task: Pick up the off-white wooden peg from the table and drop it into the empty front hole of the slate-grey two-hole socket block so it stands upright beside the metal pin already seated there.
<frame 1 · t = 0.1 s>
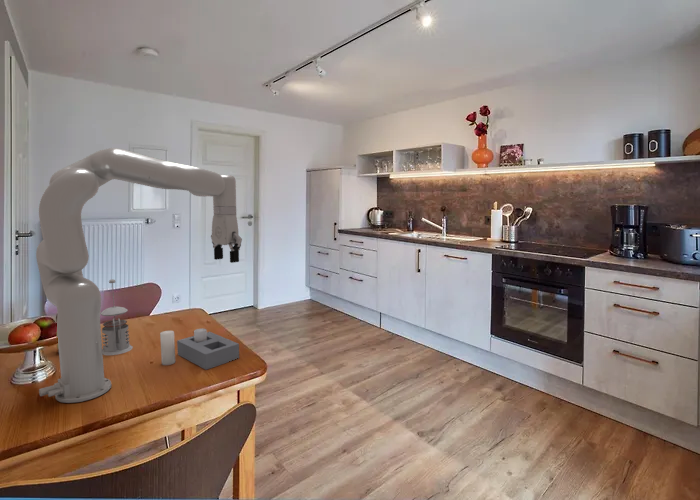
hand: (226, 260, 137), 31 cm above the table, tool pointing down, fingers open, 9 cm apart
french press: (117, 351, 135), on the table
peg: (168, 362, 126), on the table
socket block: (208, 356, 131), on the table
sauce bottle: (69, 352, 134), on the table
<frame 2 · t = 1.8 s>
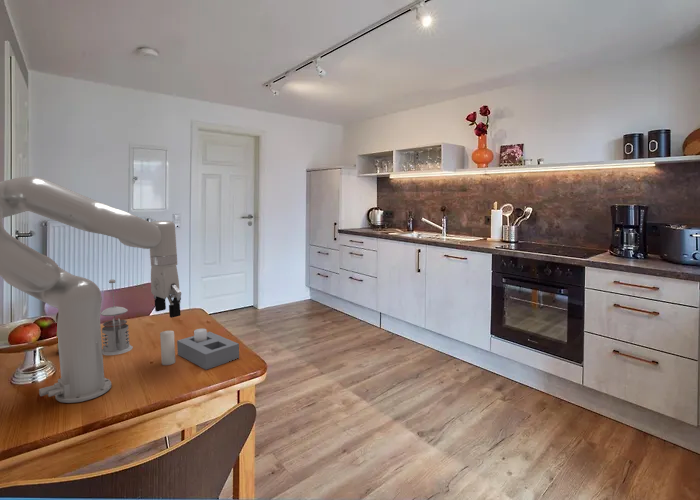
hand: (167, 313, 124), 16 cm above the table, tool pointing down, fingers open, 9 cm apart
nothing on the table moved.
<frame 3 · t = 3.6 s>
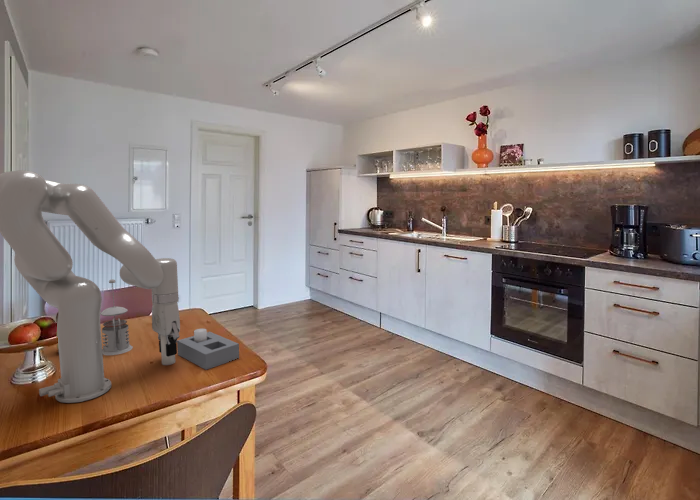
hand: (168, 352, 125), 3 cm above the table, tool pointing down, fingers closed on peg, 4 cm apart
peg: (168, 362, 126), on the table, touching gripper
everything else where it was.
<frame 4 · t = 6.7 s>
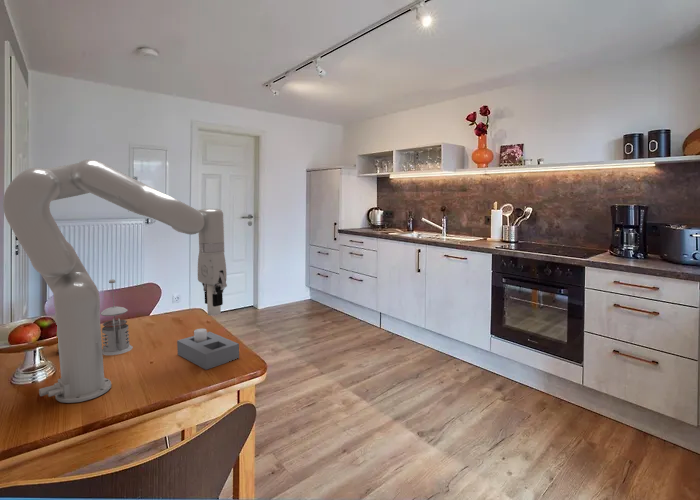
hand: (213, 303, 126), 19 cm above the table, tool pointing down, fingers closed on peg, 4 cm apart
peg: (214, 313, 126), point 16 cm above the table, touching gripper
everything else where it was.
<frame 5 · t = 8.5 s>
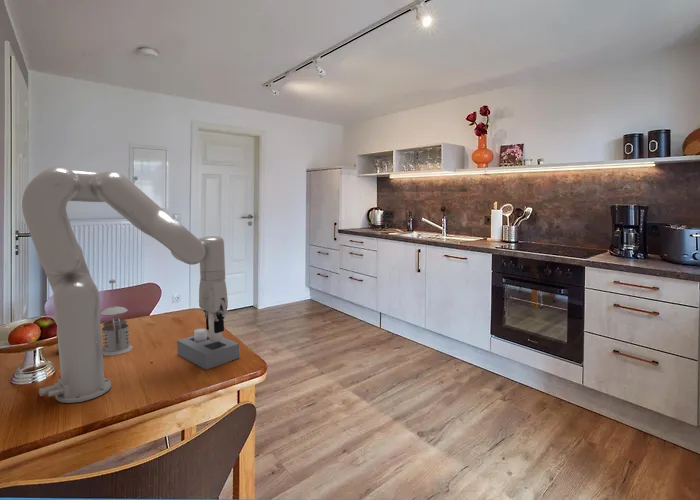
hand: (215, 329, 127), 10 cm above the table, tool pointing down, fingers closed on peg, 4 cm apart
peg: (215, 339, 128), point 7 cm above the table, touching gripper
everything else where it was.
when the fingers open (6 cm above the table, at t = 9.8 s): peg drops 2 cm, resting on socket block.
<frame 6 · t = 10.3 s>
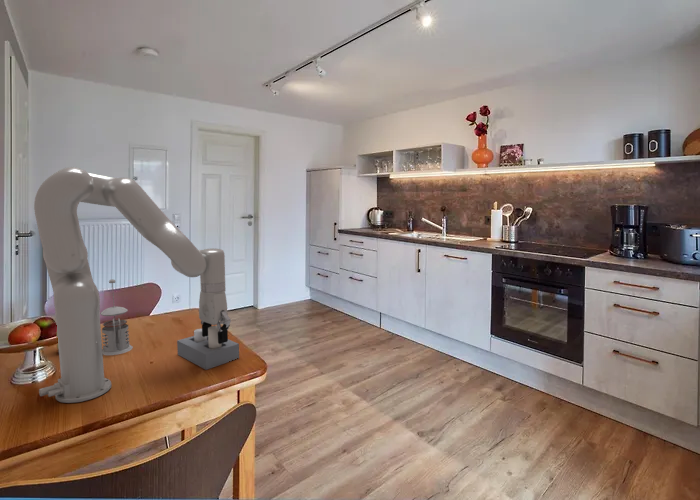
hand: (214, 338, 127), 7 cm above the table, tool pointing down, fingers open, 9 cm apart
peg: (215, 357, 128), point 1 cm above the table, touching socket block
everything else where it was.
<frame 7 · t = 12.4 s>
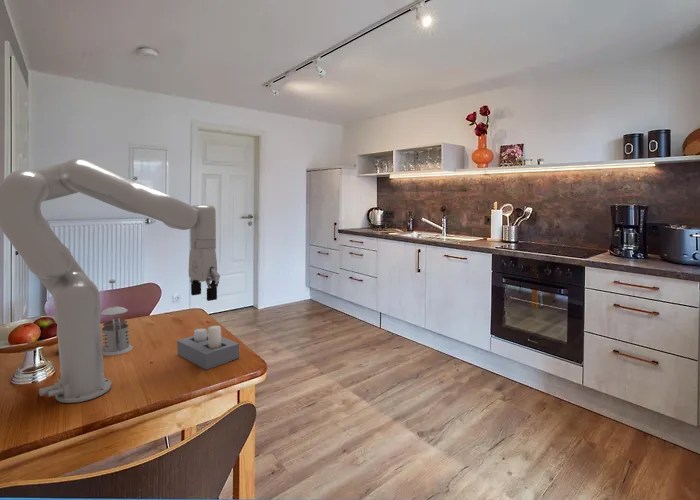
hand: (203, 297, 125), 21 cm above the table, tool pointing down, fingers open, 9 cm apart
nothing on the table moved.
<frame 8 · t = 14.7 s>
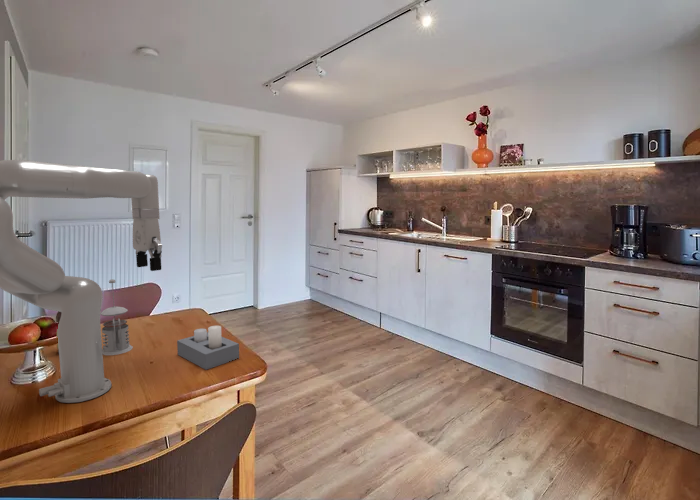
hand: (148, 268, 124), 30 cm above the table, tool pointing down, fingers open, 9 cm apart
nothing on the table moved.
at the end: peg 0.0 cm from the target spot on the socket block, point 1.0 cm above the socket block's base; peg tilted 1°; the gripper is holding nothing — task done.
